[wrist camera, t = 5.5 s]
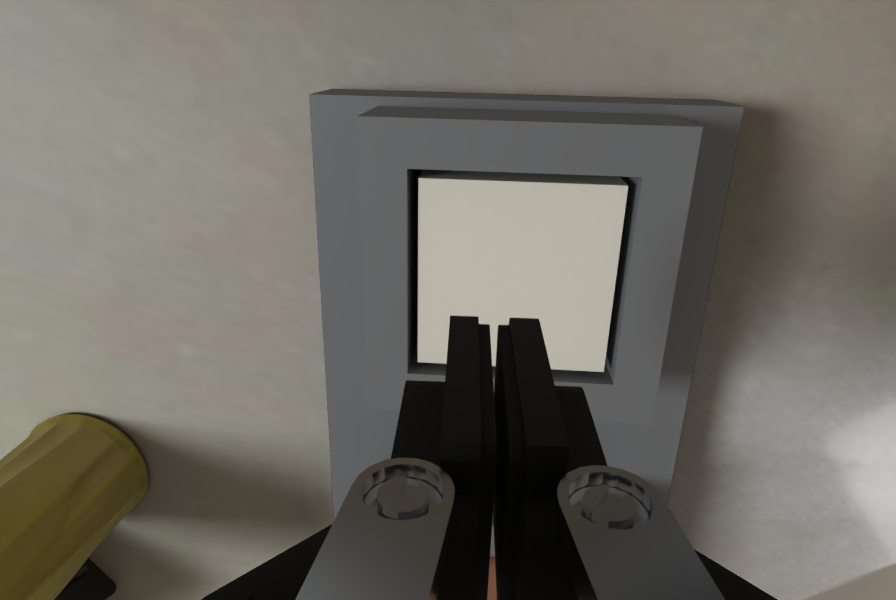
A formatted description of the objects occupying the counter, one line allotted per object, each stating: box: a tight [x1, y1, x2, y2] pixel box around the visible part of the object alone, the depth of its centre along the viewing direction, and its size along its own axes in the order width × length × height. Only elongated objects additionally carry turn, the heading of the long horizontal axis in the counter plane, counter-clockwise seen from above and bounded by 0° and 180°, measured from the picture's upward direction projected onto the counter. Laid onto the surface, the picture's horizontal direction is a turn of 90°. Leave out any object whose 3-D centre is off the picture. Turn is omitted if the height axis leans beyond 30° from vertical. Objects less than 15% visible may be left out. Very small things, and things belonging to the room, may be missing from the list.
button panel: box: [309, 89, 744, 557], centre depth 24 cm, size 24×14×6 cm, turn 179°
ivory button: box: [418, 169, 628, 372], centre depth 20 cm, size 6×6×3 cm
